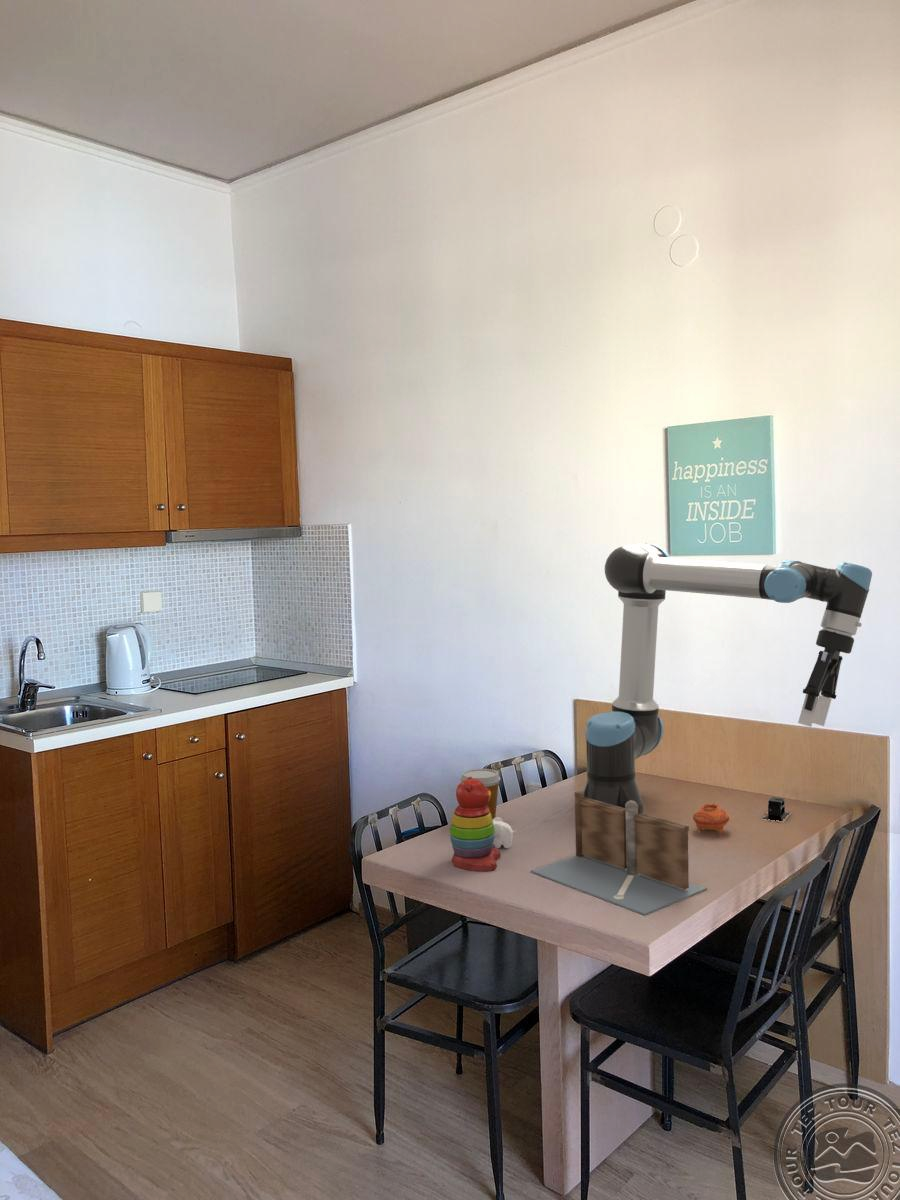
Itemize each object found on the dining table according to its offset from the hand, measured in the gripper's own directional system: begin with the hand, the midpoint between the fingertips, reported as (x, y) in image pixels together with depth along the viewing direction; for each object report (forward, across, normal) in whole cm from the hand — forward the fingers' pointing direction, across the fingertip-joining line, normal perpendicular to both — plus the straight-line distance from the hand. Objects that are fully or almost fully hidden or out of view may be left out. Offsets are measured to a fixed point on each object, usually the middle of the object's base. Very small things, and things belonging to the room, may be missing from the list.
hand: (811, 724), depth 219 cm
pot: (+30, -6, +13) cm, 33 cm away
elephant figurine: (+44, -36, +49) cm, 74 cm away
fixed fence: (+38, -36, +24) cm, 57 cm away
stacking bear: (+46, -46, +48) cm, 81 cm away
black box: (+25, +12, +4) cm, 28 cm away
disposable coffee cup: (+44, -23, +61) cm, 79 cm away
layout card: (+38, -43, +19) cm, 60 cm away
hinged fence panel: (+35, -41, +11) cm, 55 cm away
